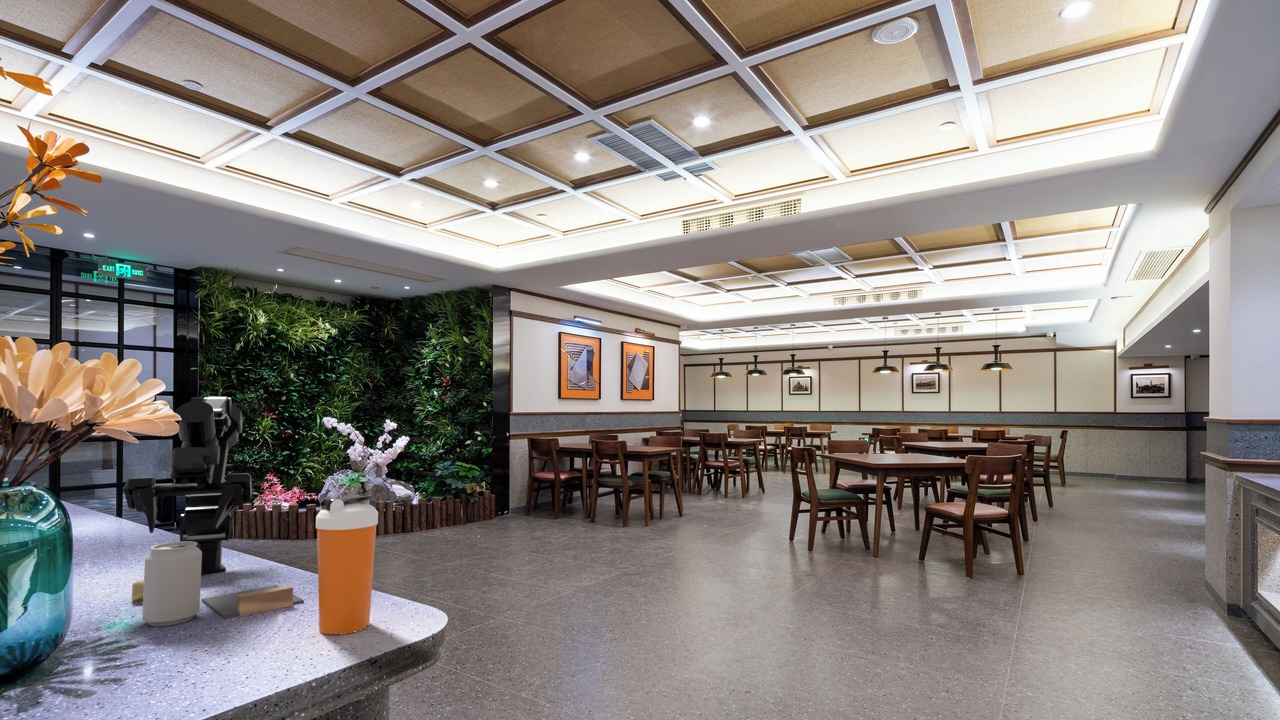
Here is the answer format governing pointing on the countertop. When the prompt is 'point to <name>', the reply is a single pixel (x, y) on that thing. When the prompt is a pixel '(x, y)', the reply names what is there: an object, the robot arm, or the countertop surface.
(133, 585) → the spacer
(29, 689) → the countertop surface
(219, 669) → the countertop surface
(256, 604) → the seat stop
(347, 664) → the countertop surface
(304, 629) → the countertop surface
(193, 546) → the can
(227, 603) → the seat pad
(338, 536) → the shaker bottle
